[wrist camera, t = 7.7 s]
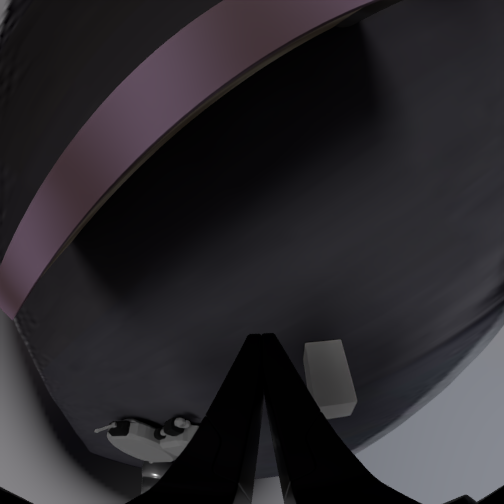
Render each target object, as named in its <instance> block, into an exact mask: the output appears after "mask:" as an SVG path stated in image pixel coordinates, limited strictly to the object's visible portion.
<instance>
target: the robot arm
mask: <svg viewBox="0 0 504 504" xmlns="http://www.w3.org/2000/svg"><path fill="white" fill-rule="evenodd" d="M264 395H265V402H266V408H267V413H268V419H269V424H270V430H271V435H272V441H273V446H274V452H275V457H276V463H277V468H278V473H279V478H280V483H281V489H282V494H283V499H284V504H421V503H419V502H417V501H415V500H413V499H411V498H409V497H407V496H405V495H403V494H402V493H400V492H398V491H396V490H394V489H392V488H391V487H388V486H387V485H385V484H384V483H382V482H381V481H379V480H378V479H377V478H375V477H374V476H373V475H372V474H371V473H370V472H369V471H368V470H367V469H366V468H365V467H364V466H363V464H362V463H361V462H360V461H359V460H358V459H357V458H356V456H355V455H354V454H353V453H352V452H351V451H350V450H349V448H348V447H347V446H346V445H345V444H344V443H343V441H342V440H341V439H340V437H339V436H338V435H337V434H336V432H335V431H334V429H333V428H332V427H331V425H330V424H329V422H328V421H327V419H326V417H325V416H324V414H323V413H322V412H320V411H321V410H320V408H319V406H318V405H317V403H316V402H315V400H314V398H313V397H312V395H311V393H310V392H309V390H308V388H307V387H306V385H305V384H304V382H303V380H302V379H301V377H300V375H299V374H298V372H297V370H296V369H295V367H294V365H293V364H292V362H291V360H290V359H289V357H288V355H287V354H286V352H285V350H284V349H283V347H282V345H281V344H280V342H279V340H278V339H277V337H276V335H275V334H274V333H264V334H262V336H261V334H249V335H248V336H247V338H246V340H245V342H244V344H243V346H242V348H241V350H240V351H239V353H238V355H237V357H236V359H235V361H234V363H233V365H232V367H231V369H230V371H229V372H228V374H227V376H226V378H225V380H224V382H223V384H222V386H221V387H220V389H219V391H218V393H217V395H216V397H215V399H214V400H213V402H212V404H211V406H210V408H209V410H208V411H207V413H206V416H205V417H204V418H203V420H202V422H201V424H200V426H199V427H198V429H197V431H196V432H195V434H194V435H193V437H192V439H191V440H190V441H189V443H188V444H187V446H186V447H185V448H184V450H183V451H182V452H181V454H180V455H179V456H178V457H177V459H176V460H175V461H174V463H173V464H172V465H171V466H170V467H169V469H168V470H167V471H166V472H165V474H164V475H163V476H162V477H161V478H160V480H159V481H158V482H157V483H156V484H155V485H154V486H152V487H151V488H150V489H149V490H147V491H146V492H144V493H143V494H141V495H140V496H138V497H136V498H134V499H132V500H131V501H129V502H127V503H126V504H251V502H252V495H253V487H254V479H255V471H256V463H257V455H258V446H259V437H260V428H261V419H262V410H263V400H264ZM0 504H33V503H31V502H29V501H27V500H25V499H23V498H21V497H19V496H17V495H15V494H13V493H11V492H9V491H7V490H5V489H3V488H2V487H0ZM444 504H504V485H503V486H502V487H500V488H498V489H497V490H495V491H494V492H492V493H491V494H489V495H488V496H486V497H484V498H483V499H481V500H479V501H478V502H476V501H475V500H473V499H472V498H471V497H469V496H468V495H463V496H461V497H458V498H456V499H453V500H451V501H449V502H446V503H444Z"/></svg>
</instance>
